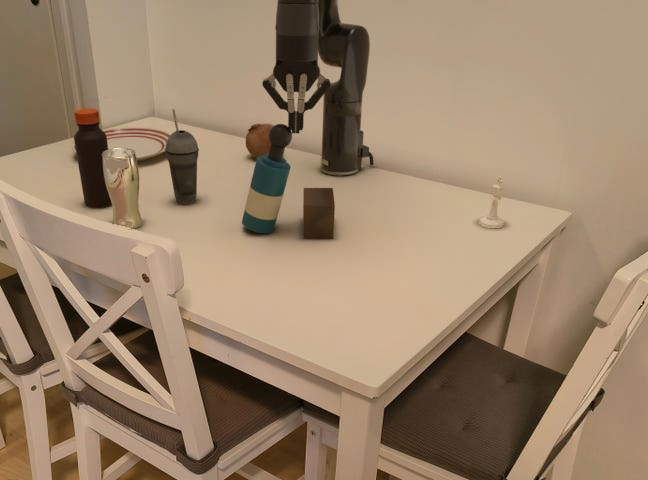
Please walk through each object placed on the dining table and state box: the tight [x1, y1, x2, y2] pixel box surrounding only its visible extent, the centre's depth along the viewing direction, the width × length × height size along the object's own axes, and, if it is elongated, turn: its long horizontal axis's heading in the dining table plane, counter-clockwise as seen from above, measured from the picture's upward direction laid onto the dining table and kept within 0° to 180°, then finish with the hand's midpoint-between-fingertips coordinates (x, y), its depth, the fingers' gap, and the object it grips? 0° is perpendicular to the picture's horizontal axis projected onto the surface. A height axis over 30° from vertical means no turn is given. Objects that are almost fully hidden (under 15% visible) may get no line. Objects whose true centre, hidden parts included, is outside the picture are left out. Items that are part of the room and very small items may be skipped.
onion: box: [245, 123, 275, 159], centre depth 179 cm, size 10×9×10 cm
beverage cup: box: [164, 108, 200, 206], centre depth 149 cm, size 7×7×20 cm
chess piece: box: [478, 175, 505, 229], centre depth 139 cm, size 5×5×10 cm
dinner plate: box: [71, 126, 172, 163], centre depth 184 cm, size 27×27×3 cm
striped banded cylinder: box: [241, 123, 293, 234], centre depth 135 cm, size 17×7×19 cm, turn 84°
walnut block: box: [302, 187, 336, 240], centre depth 139 cm, size 6×10×7 cm, turn 178°
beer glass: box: [102, 148, 143, 230], centre depth 139 cm, size 7×7×15 cm
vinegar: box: [73, 107, 112, 209], centre depth 148 cm, size 7×7×20 cm
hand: (295, 132), depth 129 cm, fingers closed
